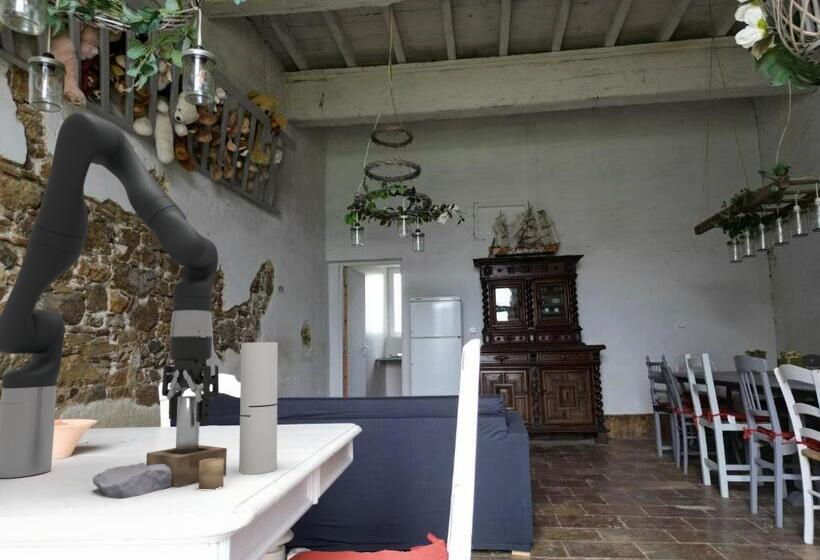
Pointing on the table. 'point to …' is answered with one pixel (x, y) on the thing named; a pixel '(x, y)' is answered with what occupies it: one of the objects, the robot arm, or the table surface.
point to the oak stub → (211, 473)
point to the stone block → (133, 480)
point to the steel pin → (187, 426)
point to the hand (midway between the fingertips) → (188, 420)
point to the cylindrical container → (258, 408)
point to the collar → (185, 463)
